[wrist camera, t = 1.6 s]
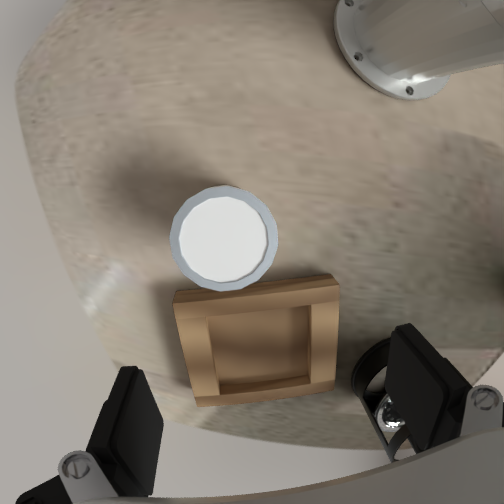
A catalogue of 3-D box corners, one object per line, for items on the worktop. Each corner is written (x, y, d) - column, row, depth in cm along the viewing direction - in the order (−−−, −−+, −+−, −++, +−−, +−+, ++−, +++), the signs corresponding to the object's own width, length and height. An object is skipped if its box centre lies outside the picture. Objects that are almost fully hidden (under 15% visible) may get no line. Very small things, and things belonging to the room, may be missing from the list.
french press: (350, 410, 35) (417, 567, 13) (339, 357, 32) (432, 548, 10) (431, 374, 34) (525, 501, 13) (432, 317, 32) (563, 453, 10)
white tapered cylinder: (166, 214, 26) (146, 236, 19) (229, 159, 25) (230, 162, 18) (220, 273, 28) (219, 311, 21) (282, 223, 27) (300, 247, 20)
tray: (176, 291, 28) (172, 303, 26) (330, 273, 29) (339, 284, 26) (198, 391, 32) (197, 407, 29) (327, 375, 32) (334, 389, 30)
